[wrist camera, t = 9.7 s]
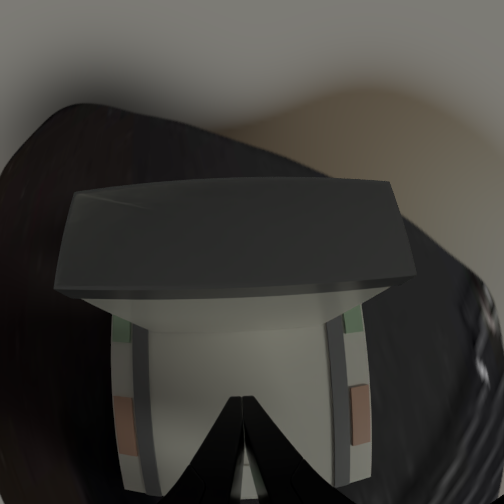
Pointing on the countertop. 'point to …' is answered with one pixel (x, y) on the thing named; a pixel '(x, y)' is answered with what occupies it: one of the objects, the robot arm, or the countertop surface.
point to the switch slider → (233, 251)
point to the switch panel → (241, 384)
